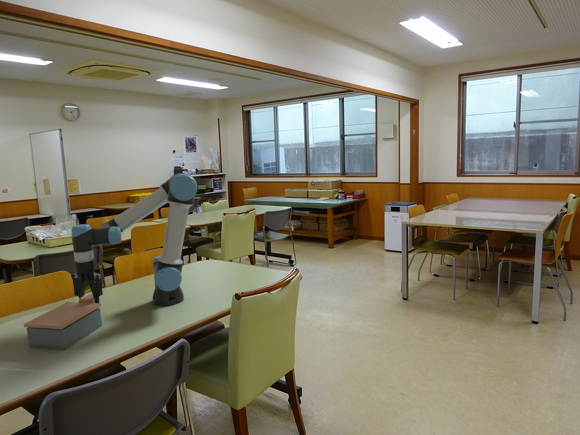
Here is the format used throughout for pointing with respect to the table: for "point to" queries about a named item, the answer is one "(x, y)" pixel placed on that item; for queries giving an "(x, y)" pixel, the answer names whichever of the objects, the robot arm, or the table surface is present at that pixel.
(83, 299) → the lid
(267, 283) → the table surface
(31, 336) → the tub
